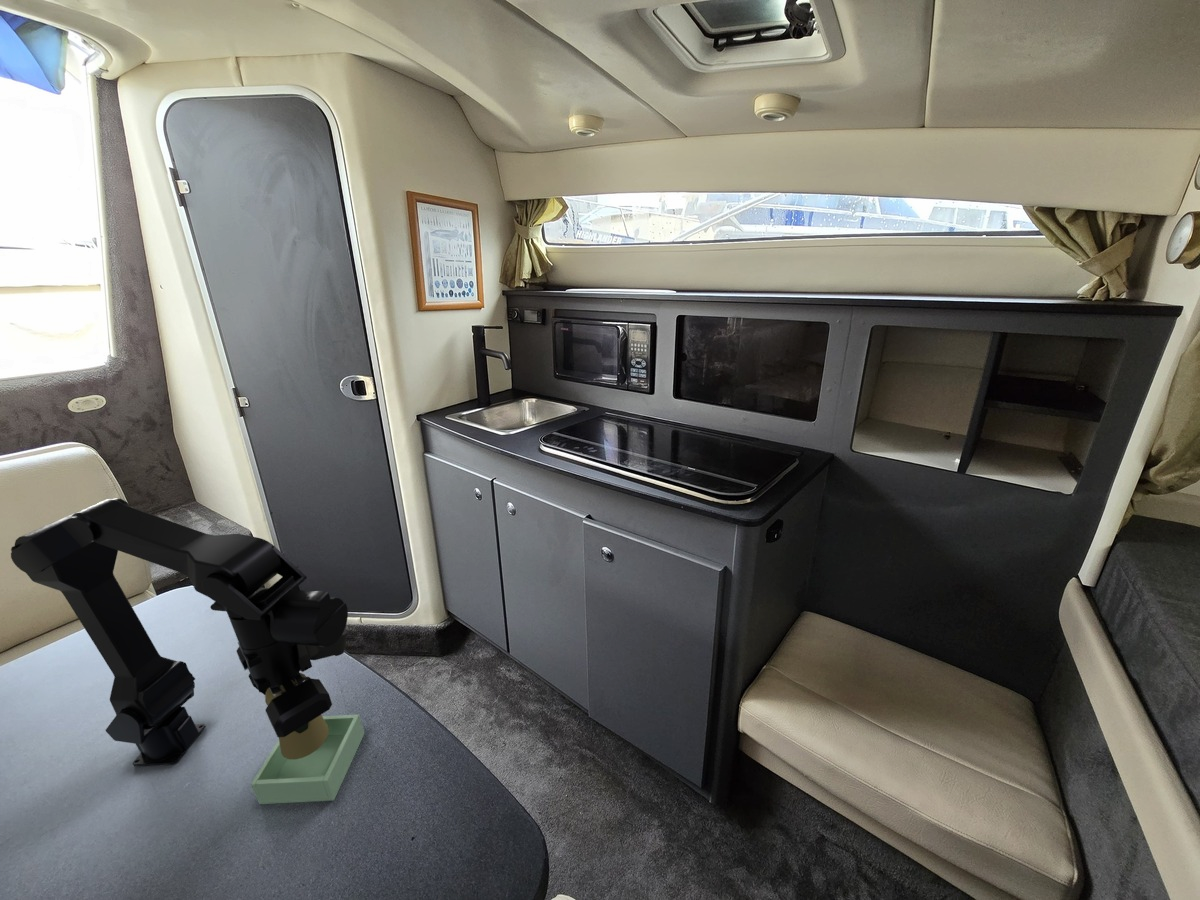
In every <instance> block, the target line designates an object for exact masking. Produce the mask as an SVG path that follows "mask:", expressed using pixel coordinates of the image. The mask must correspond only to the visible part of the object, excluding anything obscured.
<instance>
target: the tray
mask: <svg viewBox="0 0 1200 900" xmlns="http://www.w3.org/2000/svg"><path fill="white" fill-rule="evenodd" d="M322 717H323V719H324V720H325V722H326V724H327V725H328V729H329V732H328V736H327V738H326V740H325V741H324V743H323V744H322V745H321V746H320V747H319V748H318V749H317V750H316V751H314V752H313V753H312V754H310V755H308V756H306V757H303V758H300V759H296V760H295V759H287V758H285V757H283V755H282V754H281V749H280V743H279V739H278V740H277V742H276V743H275V744H274V746H273V747H272V749H271V751H270V753H269V754H268V755H267V757H266V759H265V761H264V762H263V764H262V766H261V767H260V768H259V770H258V772H257V773H256V775H255V776H254V778H253V780H252V781H251V783H250V786H251V788H252V791H253V793H254V795H255V796H256V799H257V801H258V804H259V805H272V804H287V803H288V804H289V803H290V804H291V803H293V804H294V803H310V802H312V803H313V802H329V801H333V802H334V801H335V800H336V797H337V794H338V793H339V791H340V788H341V786H342V784H343V781H344V779H345V777H346V776H347V773H348V771H349V769H350V766H351V764H352V762H353V760H354V758H355V755H356V754H357V751H358V749H359V746H360V744H361V742H362V741H363V738H364V736H365V730H364V727H363V724H362V720H361V718H360V714H341V715H339V714H338V715H322Z"/></svg>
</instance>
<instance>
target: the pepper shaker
mask: <svg viewBox="0 0 1200 900" xmlns="http://www.w3.org/2000/svg"><path fill="white" fill-rule="evenodd" d="M299 673H300V674H301V676H302V677H307V675H306V674H305V673H303V672H301V671H299ZM291 681H292V682H293V684H294V686H295V683H294V681H293V680H291ZM297 685H298V684H297ZM280 688H281V690H282V692H284V689H283V687H282V685H281V686H280ZM279 695H281V694H279ZM279 695H277V696H273V694H272V692H271V691H270V689H269V688H268V689H267V691H266V693H265V695H264V698H265V700H264V701H265V704H266V707H268V705H269V703H270V702H271V700H272V699H274V698H276V697H278V696H279ZM322 716H323V714H321V715H320V716H318V717H316V718H315V719H313V720H312V721H310V722H309V723H308V729H307V730H305V731H304V732H302V733H300V734H299V733H297V732H295V731H294V732H292V733H290V734H289V735H287V736H285V737H278V740H279V743H280V749H281V754H282V755H283V757H285V758H287V759H295V760H296V759H300V758H303V757H306V756H308V755H310V754H312V753H313V752H314V751H316V750H317V749H318V748H319V747H320V746H321V745H322V744H323V743H324V741H325V740H326V738H327V736H328V732H329V729H328V725H327V724H326V722H325V720H324V719H323V717H322Z"/></svg>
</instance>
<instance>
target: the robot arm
mask: <svg viewBox="0 0 1200 900" xmlns="http://www.w3.org/2000/svg"><path fill="white" fill-rule="evenodd" d="M10 551H11V552H10V559H11V561H12V563H13V565H15V567H16V568H18V569H19V570H20V571H22V572H24V573H25V574H26V575H27V576H28V578H29V579H30V580H31V581H32V582H34V583H35V584H39V585H41V586H43V587H44V586H45V587H48V588H50V589H54V590H55V591H60V592H61V593H62V595H63V596H64V598H65V600H66V601H67V603H68V604H69V606H70V607H71V609H72V611H73V613H74V614H75V615H76V617H77V619H78V620H79V622H80V624H81V626H83V628H84V630H85V632H86V633H87V635H88V636H89V638H90V640H91V641H92V642H93V644H94V646H95V647H96V649H97V651H98V653H99V654H100V655H101V657H102V658H103V660H104V662H105V663H106V665H107V667H108V668H109V669H110V671H111V673H112V675H113V677H114V678H113V682H112V687H111V691H110V694H109V695H110V696H109V702H110V704H111V706H112V709H113V710H114V713H115V717H114V718H113V719H112V720H111V722H110V723H109V725H108V726H107V727H106V728H105V732H106V734H107V735H109V737H110V738H111V739H112V740H113V741H115V742H121V743H128V744H135V746H136V747H137V749H138V751H139V753H140V754H139V755H138V756H137V757H136V758H135V759H134V760H133V762H132V766H133V767H135V768H136V767H137V768H138V767H155V766H173V765H176V764H177V763H178V762H180V760H181V759H182V757H183V756H184V755H185V754H186V752H187V751H188V750H189V749H190V748H191V746H192V745H193V744H194V742H195V741H196V740H197V739H198V738H199V736H200V735H201V734H202V732H203V731H204V730H205V728H206V725H205V723H195V722H194V719H193V717H192V716H191V715H189V713H188V711H187V709H186V706H184V705H185V704H186V703H187V702H188V701H189V700H190V699H192V698H193V697H194V696H195V687H196V684H195V681H196V678H195V676H194V674H193V673H192V672H191V671H190V670H189V668H188V665H187V663H186V662H184V661H182V660H179V661H177V660H174V659H170V658H167V657H164V656H162V655H160V653H159V652H158V650H157V648H156V646H155V645H154V643H153V641H152V639H151V638H150V636H149V634H148V632H147V630H146V629H145V627H144V625H143V624H142V622H141V620H140V618H139V617H138V615H137V613H136V611H135V610H134V608H133V606H132V605H131V603H130V601H129V599H128V598H127V595H126V594H125V592H124V590H123V588H122V587H121V585H120V584H119V581H118V579H117V578H116V575H115V574H114V570H115V566H116V563H117V562H116V561H117V559H118V553H119V552H122V553H124V554H127V555H130V556H133V557H135V558H138V559H141V560H144V561H146V562H149V563H152V564H155V565H157V566H160V567H163V568H167V569H169V570H172V571H175V572H176V573H180V574H182V575H183V576H185V577H188V579H189V581H190V582H191V585H192V586H193V589H194V590H195V591H196V592H197V593H199V594H201V595H203V596H205V597H207V598H209V599H210V600H212V601H213V603H212V604H211V605H210V610H212V611H217V612H225V613H226V614H227V616H228V619H229V621H230V624H231V626H232V629H233V631H234V634H235V637H236V640H237V645H238V647H237V649H236V654H237V656H238V660H239V661H240V664H241V666H242V668H243V669H244V671H247V670H248V672H249V673H248V679H249V681H250V683H251V685H252V686H253V687H254V688H255V689H256V690H257V691H258V692H259V693H261V694H263V695H264V696H265V693H266V691H267V689H268V688H269V689H270V691H271V692H272V694H273V696H277V695H279V694H281V695H279V696H278V697H276V698H274V699H272V700H271V702H270V703H269V705H268V706H266V708H265V713H266V715H267V718H268V720H269V723H270V725H271V726H272V729H273V730H274V733H275V735H276V737H277V738H279V737H285V736H287V735H289V734H290V733H292V732H294V731H295V732H297V733H299V734H300V733H302V732H304V731H305V730H307V729H308V723H309V722H310V721H312V720H313V719H315V718H316V717H318V716H320V715H323V714H325V713H326V712H329V710H330V709H331V707H332V706H333V702H332V699H331V696H330V693H329V692H328V690H327V689H326V687H325V686H324V684H323V683H322V681H321V679H320V678H311V677H310V676H306V677H302V676H301V674H300V673H303V672H306V671H307V670H309V669H311V668H313V664H312V661H318V660H321V659H326V658H330V657H334V656H335V657H338V656H342V655H343V654H344V653H345V649H346V642H347V636H348V630H347V627H346V626H347V624H348V618H349V611H348V605H347V603H345V601H343V599H341V598H340V597H332V596H331V595H330V592H329V591H327V590H304V589H303V590H302V589H300V585H302V584H303V583H304V582H305V581H307V579H308V578H307V575H306V574H305V573H303V571H302V570H300V568H299V565H298V564H296V563H295V562H294V561H292V560H291V559H290V558H288V557H287V556H286V555H285V554H284V553H282V552H281V550H280V549H278V548H277V547H276V546H275V545H274V544H273V543H272V542H270V541H268V540H266V539H264V538H260V537H257V536H252V535H247V534H242V533H226V534H217V535H216V534H210V533H205V532H202V531H201V530H198V529H195V528H191V527H188V526H186V525H183V524H180V523H178V522H174V521H173V520H172V521H171V520H168V519H166V518H163V517H160V516H157V515H155V514H153V513H150V512H146V511H143V510H141V509H138V508H135V507H132V505H131V504H130V503H129V502H127V501H126V500H124V499H122V498H119V497H116V498H107V499H104V500H101V501H99V502H97V503H95V504H93V505H90V506H88V507H86V508H83V509H81V510H79V511H77V512H73V513H71V514H68V515H66V516H63V517H61V518H60V519H57V520H55V521H52V522H50V523H48V524H46V525H43V526H41V527H39V528H36V529H35V530H33V531H30V532H28V533H25V534H23V535H21V536H19V537H18V538H16V539H15V541H14V545H13V546H11V549H10ZM277 575H278V576H281V578H280V579H278V580H277V581H276V582H274V583H273V584H271V586H270V587H263V586H264V585H266V584H267V583H268V582H270V581H271V580H272V579H273V578H275V577H276V576H277ZM299 672H300V673H299ZM291 680H293V681H294V683H295V686H294V684H293V682H292V681H291ZM297 684H298V685H297ZM281 685H282V687H283V689H284V692H282V690H281V688H280V686H281Z"/></svg>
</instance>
